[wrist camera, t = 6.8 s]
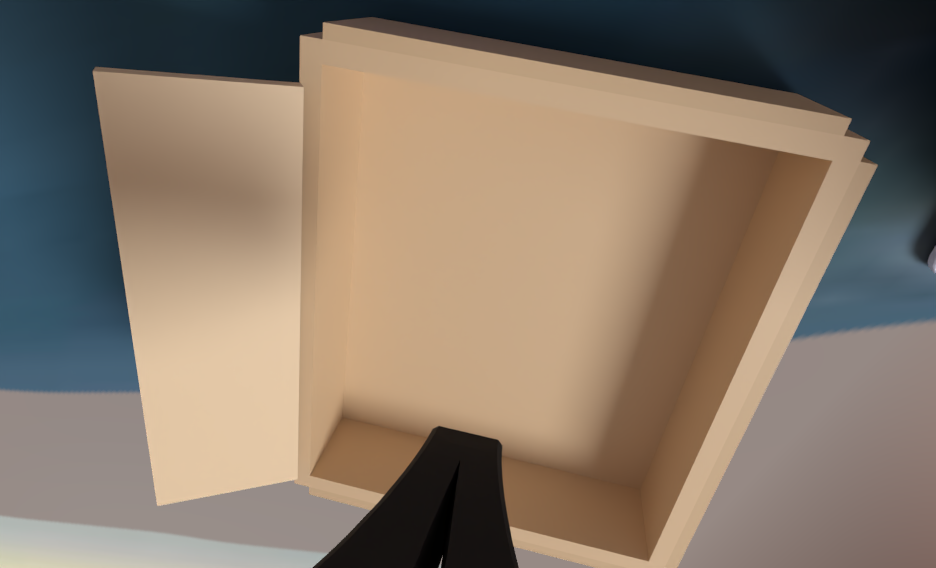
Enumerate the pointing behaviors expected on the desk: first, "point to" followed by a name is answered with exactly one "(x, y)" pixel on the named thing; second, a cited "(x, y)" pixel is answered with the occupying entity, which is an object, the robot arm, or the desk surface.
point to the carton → (552, 273)
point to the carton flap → (210, 270)
